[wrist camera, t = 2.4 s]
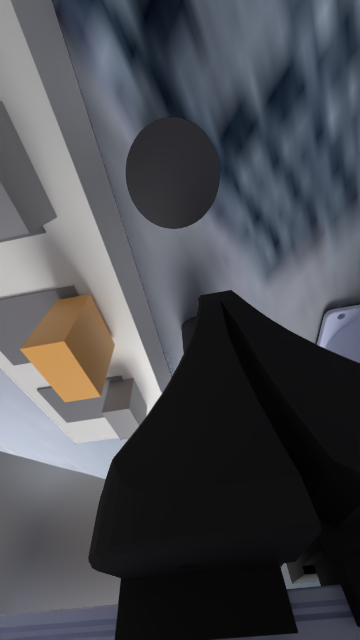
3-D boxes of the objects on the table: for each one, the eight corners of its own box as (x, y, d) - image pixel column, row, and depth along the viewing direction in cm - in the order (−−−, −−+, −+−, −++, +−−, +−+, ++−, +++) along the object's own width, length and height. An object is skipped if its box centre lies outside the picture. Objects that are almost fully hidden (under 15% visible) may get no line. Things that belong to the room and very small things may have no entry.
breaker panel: (41, -32, 7) (-212, -408, 2) (173, 385, 20) (176, 458, 15) (-176, 33, 8) (-736, -167, 3) (89, 398, 21) (66, 472, 16)
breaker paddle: (90, 294, 9) (64, 341, 7) (114, 345, 11) (100, 396, 9) (56, 300, 10) (19, 349, 7) (86, 349, 11) (65, 402, 9)
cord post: (191, 130, 10) (216, 106, 5) (198, 192, 11) (222, 219, 6) (138, 142, 10) (111, 130, 5) (152, 202, 11) (141, 236, 7)
